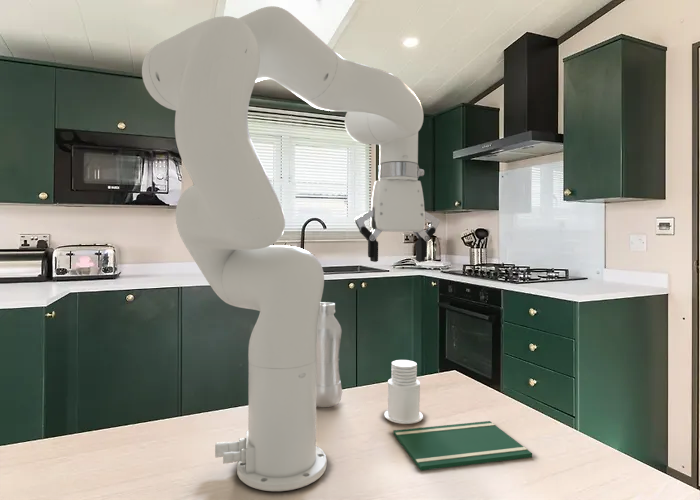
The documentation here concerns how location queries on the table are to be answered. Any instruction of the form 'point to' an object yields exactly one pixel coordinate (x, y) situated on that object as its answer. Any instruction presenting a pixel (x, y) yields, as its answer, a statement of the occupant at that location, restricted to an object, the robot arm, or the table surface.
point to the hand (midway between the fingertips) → (397, 261)
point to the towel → (459, 445)
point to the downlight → (403, 393)
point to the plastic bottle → (328, 357)
